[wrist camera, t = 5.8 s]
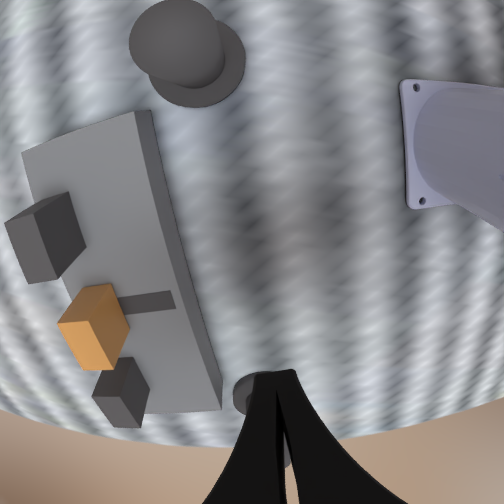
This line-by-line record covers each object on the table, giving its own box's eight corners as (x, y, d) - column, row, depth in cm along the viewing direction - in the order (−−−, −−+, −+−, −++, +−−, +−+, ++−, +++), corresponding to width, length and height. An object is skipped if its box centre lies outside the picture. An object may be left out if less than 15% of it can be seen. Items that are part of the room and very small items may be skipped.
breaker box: (150, 110, 16) (104, 113, 10) (222, 381, 24) (220, 449, 18) (48, 144, 16) (-20, 166, 10) (141, 386, 25) (125, 449, 19)
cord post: (292, 367, 24) (304, 442, 18) (295, 405, 26) (305, 473, 20) (227, 375, 24) (225, 450, 18) (239, 412, 26) (239, 479, 20)
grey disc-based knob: (236, 14, 14) (236, -37, 7) (252, 98, 16) (260, 91, 10) (146, 34, 14) (95, 0, 8) (160, 116, 16) (115, 123, 10)
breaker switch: (110, 283, 17) (88, 320, 14) (130, 329, 18) (113, 369, 15) (82, 287, 17) (56, 323, 14) (102, 331, 18) (83, 370, 15)
